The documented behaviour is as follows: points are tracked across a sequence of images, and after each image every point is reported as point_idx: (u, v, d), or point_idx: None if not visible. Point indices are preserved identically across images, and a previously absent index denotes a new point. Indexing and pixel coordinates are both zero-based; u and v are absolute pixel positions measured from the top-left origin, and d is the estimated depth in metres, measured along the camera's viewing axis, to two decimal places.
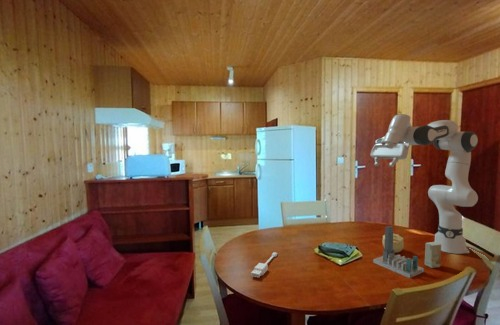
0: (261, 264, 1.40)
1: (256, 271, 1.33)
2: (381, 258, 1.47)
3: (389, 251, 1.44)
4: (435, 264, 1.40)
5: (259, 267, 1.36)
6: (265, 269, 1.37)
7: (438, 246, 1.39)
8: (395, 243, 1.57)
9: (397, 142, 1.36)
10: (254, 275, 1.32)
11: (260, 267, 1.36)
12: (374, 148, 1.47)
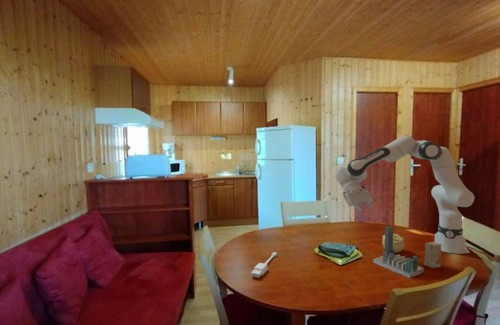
0: (261, 264, 1.40)
1: (256, 271, 1.34)
2: (381, 258, 1.47)
3: (389, 251, 1.44)
4: (435, 264, 1.40)
5: (259, 267, 1.36)
6: (265, 269, 1.38)
7: (438, 246, 1.39)
8: (395, 243, 1.57)
9: None
10: (254, 275, 1.33)
11: (260, 267, 1.36)
12: None
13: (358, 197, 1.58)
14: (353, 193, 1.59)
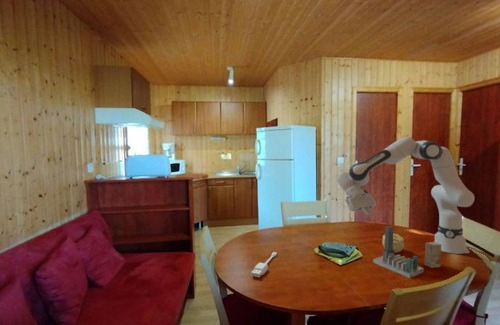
0: (261, 264, 1.40)
1: (256, 271, 1.34)
2: (381, 258, 1.47)
3: (389, 251, 1.44)
4: (435, 264, 1.40)
5: (259, 267, 1.37)
6: (265, 269, 1.38)
7: (438, 246, 1.39)
8: (395, 243, 1.57)
9: None
10: (254, 275, 1.33)
11: (260, 267, 1.37)
12: None
13: (361, 202, 1.57)
14: (355, 198, 1.58)
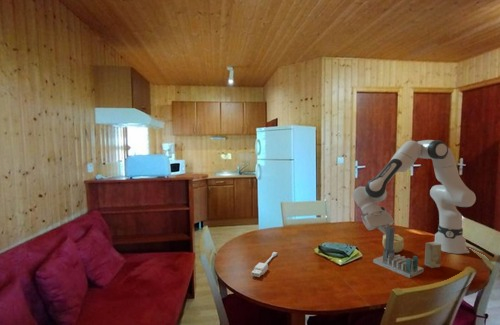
0: (261, 264, 1.40)
1: (256, 271, 1.34)
2: (381, 258, 1.47)
3: (389, 251, 1.44)
4: (435, 264, 1.40)
5: (259, 267, 1.37)
6: (265, 269, 1.38)
7: (438, 246, 1.39)
8: (395, 243, 1.57)
9: None
10: (254, 275, 1.33)
11: (260, 267, 1.37)
12: None
13: (378, 220, 1.47)
14: (372, 215, 1.48)
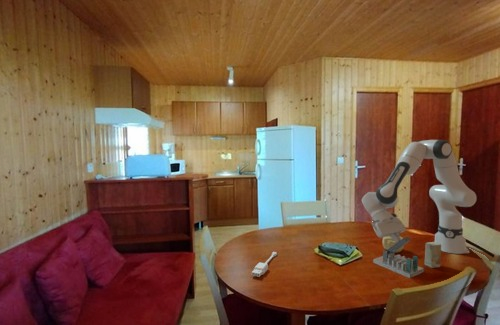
0: (261, 263, 1.41)
1: (256, 270, 1.34)
2: (381, 258, 1.47)
3: (389, 253, 1.43)
4: (435, 264, 1.40)
5: (259, 266, 1.37)
6: (265, 268, 1.38)
7: (438, 246, 1.39)
8: (395, 243, 1.57)
9: None
10: (255, 274, 1.33)
11: (260, 266, 1.37)
12: None
13: (389, 227, 1.42)
14: (383, 222, 1.43)
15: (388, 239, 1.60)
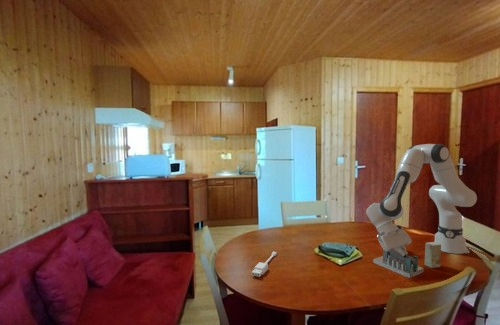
0: (261, 263, 1.41)
1: (257, 270, 1.34)
2: (381, 258, 1.47)
3: None
4: (435, 264, 1.40)
5: (259, 266, 1.37)
6: (265, 268, 1.38)
7: (438, 246, 1.39)
8: None
9: None
10: (255, 274, 1.33)
11: (260, 266, 1.37)
12: None
13: (395, 240, 1.39)
14: (389, 235, 1.40)
15: None
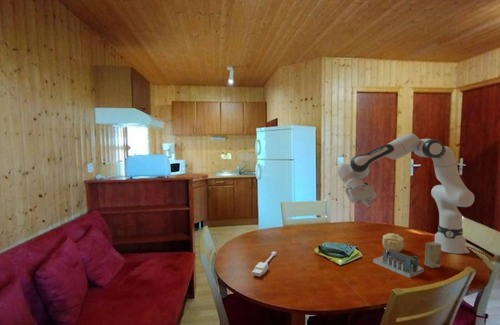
0: (261, 263, 1.41)
1: (257, 270, 1.35)
2: (381, 258, 1.47)
3: None
4: (435, 264, 1.40)
5: (260, 266, 1.37)
6: (266, 268, 1.39)
7: (438, 246, 1.39)
8: (395, 243, 1.57)
9: None
10: (255, 274, 1.33)
11: (261, 266, 1.37)
12: None
13: (361, 193, 1.56)
14: (356, 189, 1.57)
15: (388, 239, 1.60)
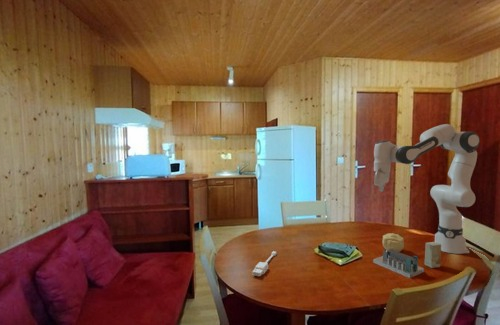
0: (262, 263, 1.41)
1: (257, 270, 1.35)
2: (381, 258, 1.47)
3: None
4: (435, 264, 1.40)
5: (260, 266, 1.38)
6: (266, 268, 1.39)
7: (438, 246, 1.39)
8: (395, 243, 1.57)
9: (377, 170, 1.54)
10: (255, 274, 1.34)
11: (261, 266, 1.38)
12: None
13: (384, 179, 1.54)
14: (383, 174, 1.53)
15: (388, 239, 1.60)
